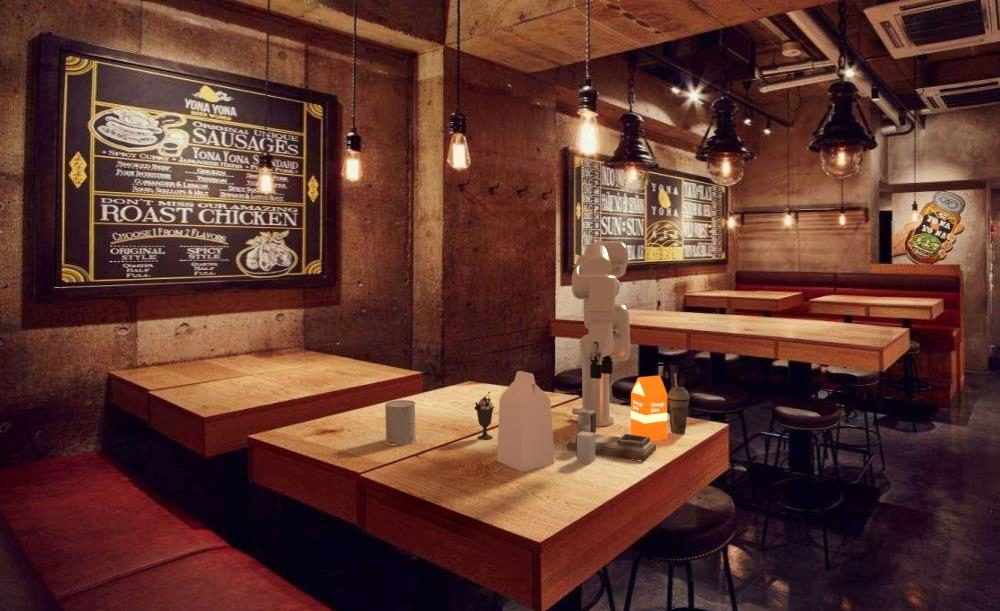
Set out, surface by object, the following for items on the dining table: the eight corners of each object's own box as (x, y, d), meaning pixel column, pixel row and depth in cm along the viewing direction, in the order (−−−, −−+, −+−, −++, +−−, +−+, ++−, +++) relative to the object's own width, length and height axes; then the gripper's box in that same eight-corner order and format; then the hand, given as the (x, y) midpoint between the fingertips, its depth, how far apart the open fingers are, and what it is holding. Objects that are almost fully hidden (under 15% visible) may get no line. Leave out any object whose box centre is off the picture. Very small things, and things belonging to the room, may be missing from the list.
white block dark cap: (575, 461, 182) (575, 434, 182) (580, 457, 186) (580, 431, 185) (590, 464, 180) (590, 436, 180) (595, 460, 184) (595, 433, 183)
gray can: (391, 447, 198) (390, 408, 197) (382, 439, 206) (381, 402, 205) (420, 442, 202) (419, 404, 201) (410, 435, 211) (409, 399, 210)
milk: (554, 463, 181) (554, 373, 179) (522, 471, 174) (521, 378, 172) (528, 453, 191) (528, 367, 189) (497, 460, 184) (496, 371, 182)
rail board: (566, 450, 193) (566, 413, 192) (581, 440, 204) (581, 405, 203) (644, 461, 182) (644, 423, 181) (655, 450, 192) (656, 414, 191)
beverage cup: (690, 436, 207) (691, 375, 206) (667, 435, 209) (668, 374, 207) (688, 430, 214) (689, 371, 213) (666, 429, 216) (666, 371, 214)
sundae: (498, 435, 210) (497, 390, 208) (491, 441, 203) (490, 395, 202) (479, 434, 212) (478, 389, 211) (471, 439, 205) (471, 393, 204)
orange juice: (630, 435, 208) (630, 375, 207) (652, 432, 212) (653, 373, 210) (644, 442, 201) (645, 379, 199) (667, 438, 204) (668, 377, 203)
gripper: (599, 315, 194) (599, 371, 195) (578, 319, 179) (578, 379, 180) (623, 316, 191) (622, 372, 192) (604, 319, 176) (604, 381, 176)
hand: (601, 375), depth 186 cm, fingers open, 9 cm apart
